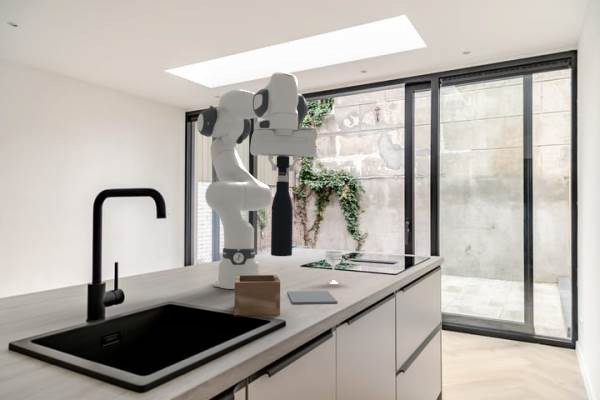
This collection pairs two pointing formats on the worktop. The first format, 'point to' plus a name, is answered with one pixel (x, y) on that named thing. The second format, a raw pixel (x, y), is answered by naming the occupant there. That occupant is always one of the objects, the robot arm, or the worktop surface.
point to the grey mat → (311, 297)
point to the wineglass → (333, 261)
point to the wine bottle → (282, 213)
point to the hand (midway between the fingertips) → (282, 170)
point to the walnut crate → (257, 295)
